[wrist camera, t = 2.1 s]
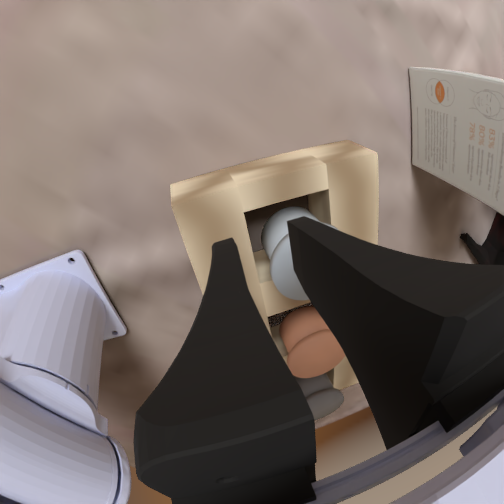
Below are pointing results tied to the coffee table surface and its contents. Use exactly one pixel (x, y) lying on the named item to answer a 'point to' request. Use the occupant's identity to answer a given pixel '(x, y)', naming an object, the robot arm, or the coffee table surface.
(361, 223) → the button board
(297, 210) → the knob
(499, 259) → the flower arrangement
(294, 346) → the plunger terracotta
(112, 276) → the coffee table surface
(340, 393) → the plunger charcoal
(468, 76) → the small box
